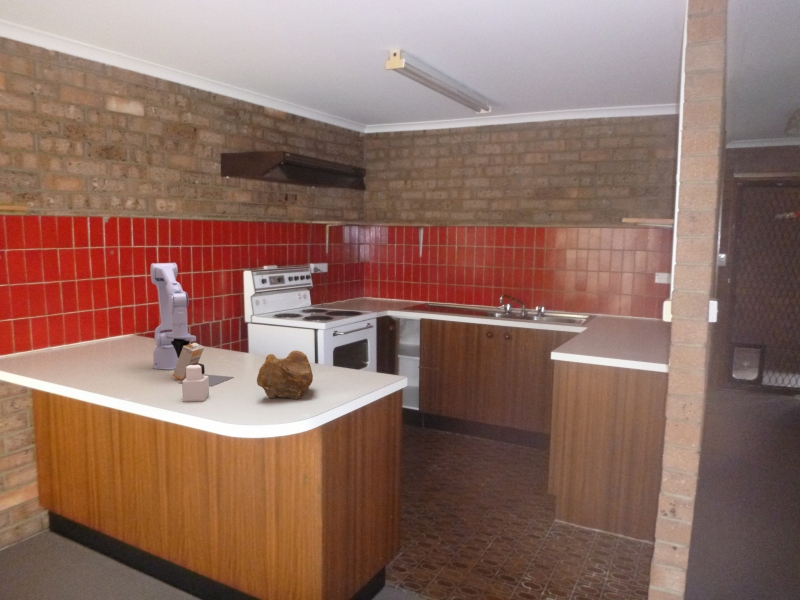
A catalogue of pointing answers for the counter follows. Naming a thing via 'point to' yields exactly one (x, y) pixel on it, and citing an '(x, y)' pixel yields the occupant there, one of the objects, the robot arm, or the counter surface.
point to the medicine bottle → (195, 383)
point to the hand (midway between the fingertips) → (181, 358)
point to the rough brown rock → (285, 375)
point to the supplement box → (187, 359)
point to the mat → (216, 379)
